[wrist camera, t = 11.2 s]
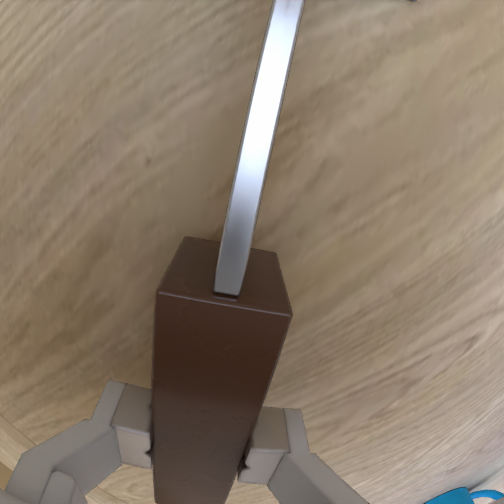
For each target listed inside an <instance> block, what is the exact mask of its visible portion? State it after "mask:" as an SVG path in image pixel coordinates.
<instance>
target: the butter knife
mask: <svg viewBox="0 0 504 504" xmlns="http://www.w3.org/2000/svg"><path fill="white" fill-rule="evenodd" d="M304 5H305V0H273V2H272V6H271V10H270V14H269V18H268V22H267V26H266V30H265V34H264V38H263V42H262V47H261V51H260V55H259V59H258V64H257V68H256V72H255V77H254V81H253V86H252V90H251V95H250V99H249V104H248V108H247V113H246V118H245V122H244V127H243V132H242V136H241V141H240V146H239V151H238V156H237V160H236V165H235V170H234V175H233V180H232V185H231V190H230V196H229V201H228V206H227V211H226V216H225V222H224V227H223V232H222V238H221V242H216V241H211V240H205V239H200V238H194V237H189V236H185V237H184V238H183V240H182V242H181V244H180V246H179V247H178V249H177V251H176V253H175V255H174V257H173V259H172V261H171V263H170V265H169V266H168V268H167V270H166V272H165V274H164V276H163V278H162V280H161V282H160V284H159V286H158V288H157V290H156V296H155V310H154V326H153V346H152V377H151V421H152V423H153V439H152V445H153V463H152V466H153V484H154V499H155V503H157V504H225V502H226V499H227V497H228V495H229V492H230V490H231V487H232V485H233V482H234V480H235V477H236V475H237V472H238V468H239V465H240V463H241V460H242V459H243V457H244V454H245V449H246V447H247V444H248V441H249V439H250V437H251V436H252V433H253V430H254V428H255V425H256V422H257V420H258V417H259V414H260V411H261V408H262V406H263V403H264V400H265V397H266V394H267V391H268V389H269V386H270V383H271V380H272V377H273V374H274V371H275V368H276V365H277V362H278V359H279V356H280V353H281V350H282V347H283V344H284V341H285V338H286V335H287V331H288V328H289V325H290V322H291V319H292V316H293V314H292V309H291V305H290V302H289V298H288V294H287V290H286V287H285V283H284V279H283V276H282V272H281V268H280V264H279V261H278V257H277V254H276V253H275V252H270V251H265V250H259V249H254V248H251V245H252V241H253V236H254V231H255V227H256V222H257V218H258V213H259V209H260V204H261V199H262V195H263V190H264V186H265V181H266V177H267V172H268V168H269V163H270V158H271V154H272V149H273V145H274V140H275V136H276V131H277V127H278V122H279V118H280V113H281V109H282V104H283V99H284V95H285V90H286V86H287V81H288V77H289V72H290V68H291V63H292V59H293V54H294V50H295V45H296V41H297V36H298V32H299V27H300V23H301V18H302V14H303V9H304Z"/></svg>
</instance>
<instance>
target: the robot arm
mask: <svg viewBox="0 0 504 504" xmlns="http://www.w3.org/2000/svg"><path fill="white" fill-rule="evenodd" d="M152 439H153V423H152V421H151V389H147V388H143V387H139V386H135V385H132V384H128V383H123V382H120V381H116V380H112V379H110V380H109V381H108V382H107V383H106V385H105V388H104V390H103V392H102V394H101V396H100V399H99V401H98V403H97V405H96V408H95V410H94V412H93V415H92V417H91V419H90V420H88V419H84V420H82V421H80V422H79V423H77V424H75V425H73V426H72V427H70V428H68V429H66V430H65V431H63V432H61V433H59V434H57V435H56V436H54V437H52V438H50V439H48V440H46V441H45V442H43V443H41V444H39V445H37V446H35V447H33V448H32V449H30V450H28V451H26V452H24V453H22V455H21V457H20V459H19V461H18V463H17V465H16V467H15V469H14V471H13V473H12V475H11V477H10V480H9V482H8V484H7V486H6V488H5V490H2V489H0V504H88V502H87V501H86V499H85V497H84V496H85V495H86V494H87V493H88V492H89V491H91V490H92V489H93V488H94V487H96V486H97V485H98V484H99V483H101V482H102V481H103V480H104V479H105V478H107V477H108V476H109V475H110V474H111V473H113V472H114V471H115V470H116V469H117V468H118V467H120V466H121V465H122V463H124V464H128V465H133V466H137V467H142V468H147V469H151V468H152V463H153V445H152ZM238 482H242V483H253V484H268V485H267V486H268V488H269V489H270V491H271V492H272V493H273V495H274V496H275V497H276V499H277V500H278V501H279V503H280V504H369V503H368V502H367V501H366V500H365V499H364V498H363V497H361V496H360V495H359V494H358V493H357V492H356V491H355V490H354V489H352V488H351V487H350V486H349V485H348V484H347V483H346V482H345V481H344V480H343V479H341V478H340V477H339V476H338V475H337V474H336V473H335V472H334V471H333V470H332V469H331V468H330V467H329V466H328V465H327V464H326V463H325V462H323V461H322V460H321V459H320V458H319V457H318V456H317V455H316V454H313V453H310V450H309V445H308V440H307V435H306V430H305V425H304V420H303V415H302V411H301V410H300V409H289V408H276V407H263V406H262V408H261V411H260V414H259V417H258V420H257V422H256V425H255V428H254V430H253V433H252V436H251V437H250V439H249V441H248V444H247V447H246V449H245V454H244V457H243V459H242V460H241V463H240V465H239V468H238ZM490 504H504V497H502V498H500V499H498V500H496V501H494V502H492V503H490Z"/></svg>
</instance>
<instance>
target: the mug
mask: <svg viewBox="0 0 504 504" xmlns="http://www.w3.org/2000/svg"><path fill="white" fill-rule="evenodd" d="M479 497H490V498H492V499H495V500H498V499H500V498H502V497H504V494H503V493H501V492H498V491H496V490H481V491H476V492H473V493H469V491H468V489H467V488H465V487H463V488H458V489H455V490H452V491H449V492H447V493H445V494H443V495H440V496H438V497H436V498H434V499H432V500H430V501H428V502H426V503H425V504H474V502H473V500H472V499H474V498H479Z"/></svg>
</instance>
